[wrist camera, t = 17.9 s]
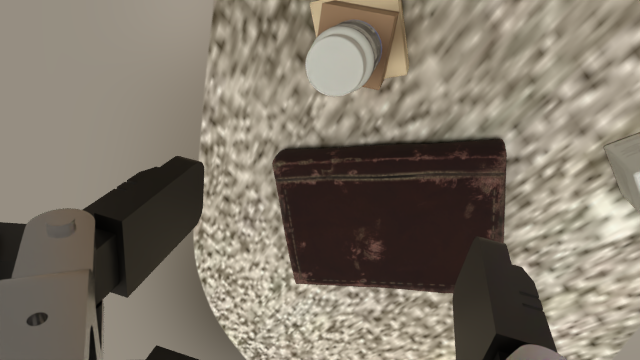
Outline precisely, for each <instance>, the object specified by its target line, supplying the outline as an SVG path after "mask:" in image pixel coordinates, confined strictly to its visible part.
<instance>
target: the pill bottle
mask: <svg viewBox="0 0 640 360" xmlns="http://www.w3.org/2000/svg"><path fill="white" fill-rule="evenodd" d="M381 54H382V43H381V39H380V37H379V35H378V33H377V31H376V30H375V29H374V28H373V27H372V26H371V25H370V24H368V23H366V22H364V21H361V20H347V21H344V22H341V23H340V24H337V25H336V26H333V27H331V28H329V29H327V30H326V31H324V32H322V33H321V34H320V35H319V36H318V37H317V38H316V39H315V41H314V42H313V44H312V46H311V49H310V50H309V52H308V54H307V57H306V63H305V68H306V74H307V77H308V79H309V81H310V83H311V84H312V86H313V87H314V88H315V89H316V90H317V91H319V92H320V93H322V94H324V95H327V96H331V97H339V96H343V95H346V94H348V93H351V92H354V91H356V90H358V89H359V88H361V87H362V86H363V85H364V84H365V83H366V82H367V81H368V79H369V78H370V76H371V75H372V73H373V71H374V69H375V68H376V66H377V65H378V63H379V61H380V58H381Z"/></svg>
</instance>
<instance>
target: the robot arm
mask: <svg viewBox="0 0 640 360" xmlns="http://www.w3.org/2000/svg"><path fill="white" fill-rule="evenodd" d="M203 189H204V166H203V163H202V162H199V161H196V160H192V159H188V158H184V157H181V156H175V157H174V158H172V159H171V160H169V161H168V162H167V163H165V164H164V165H162V166H161V167H154V168H151V169H148V170H145V171H141V172H139V173H137V174H136V175H134V176H133V177H131V178H130V179H128V180H127V182H124V183H122V184H121V185H119V186H118V187H117V189H113V190H112V191H110V192H109V193H107V194H106V195H104V196H103V197H101V198H100V199H98V200H97V201H95V202H94V203H92V204H91V205H89V206H88V207H86V208H85V209H83V210H79V209H71V208H70V209H69V208H67V209H56V210H52V211H48V212H45V213H42V214H40V215H38V216H36V217H34V218H33V219H31V220H30V221H29V222H28V223H27V224H17V223H2V222H0V360H103V343H104V303H103V299H104V298H105V297H106V295H108V294H109V292H112V293H115V294H118V295H121V296H124V297H129V295H130V294H131V293H132V292H133V291H134V290H135V289H136V288H137V287H138V286H139V285H140V284H141V283H142V282H143V281H144V280H145V278H147V277H148V276H149V274H150V273H151V272H152V271H153V270H154V269H155V268H156V267H157V266H158V265H159V264H160V263H161V262H162V261H163V260H164V259H165V258H166V257H167V256H168V255H169V254H170V252H171V251H172V250H173V249H174V248H175V247H176V246H177V245H178V244H179V243H180V242H181V241H182V240H183V239H184V238H185V237H186V236H187V235H188V234H189V233H190V232H191V230H192V229H193V228H194V227H195V226H196V225H197V223H198V221H199V219H200V217H201V214H202V209H203ZM538 298H539V295H538V292H537V289H536V286H535V283H534V281H533V280H532V279H531V278H530V277H529V275H528V274H527V273H526V272H525V271H524V269H523V268H522V267H519V266H515V265H512V264H511V260H510V257H509V253H508V249H507V246H506V244H504V243H500V242H497V241H493V240H489V239H485V238H482V237H476V238H475V239H474V240H473V242H472V244H471V247H470V249H469V252H468V254H467V256H466V259H465V261H464V264H463V266H462V269H461V271H460V273H459V276H458V278H457V281H456V284H455V288H454V293H453V316H454V332H455V349H456V360H567V359H566V358H564V357H563V356H561V355H560V354H558V353H557V350H556V347H555V344H554V341H553V338H552V335H551V332H550V329H549V326H548V323H547V320H546V316H545V313H544V312H543V307H542V304H541V301H540V300H539V299H538ZM146 360H198V359H195V358H192V357H189V356H187V355H184V354H181V353H177V352H175V351H172V350H169V349H166V348H163V347H160V346H156V347H155V348H154V349H153V351H152V352H151V353H150V354H149V356H148V357H147V359H146Z"/></svg>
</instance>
